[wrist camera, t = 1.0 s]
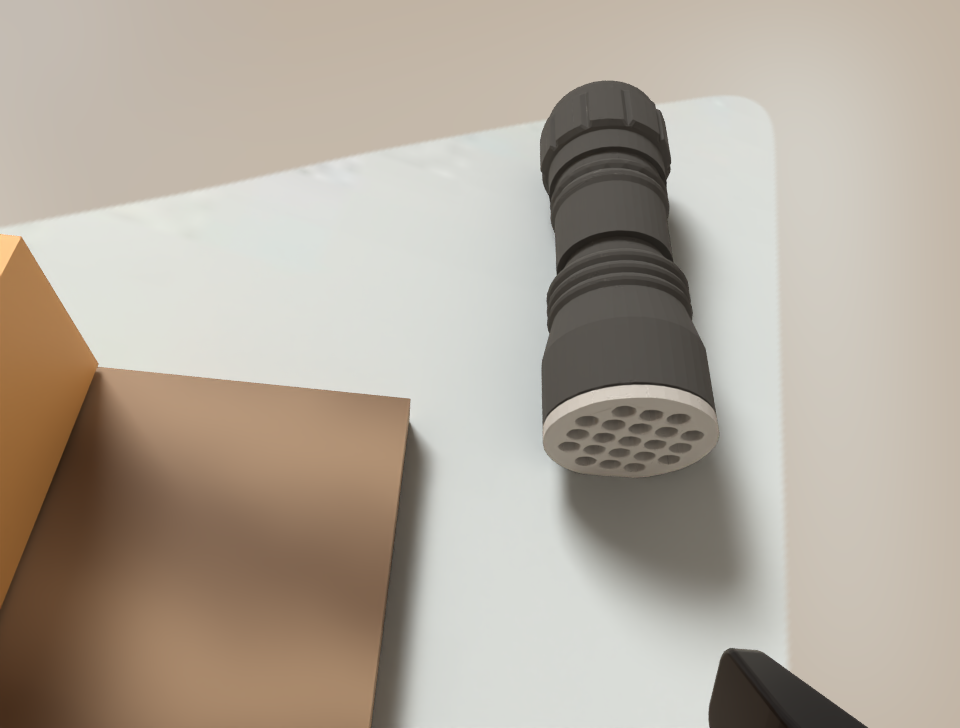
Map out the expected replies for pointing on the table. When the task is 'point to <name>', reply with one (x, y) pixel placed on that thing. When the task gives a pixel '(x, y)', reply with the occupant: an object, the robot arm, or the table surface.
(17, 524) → the orange and grey block
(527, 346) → the table surface
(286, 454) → the board
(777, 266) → the table surface
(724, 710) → the robot arm
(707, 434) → the flashlight
